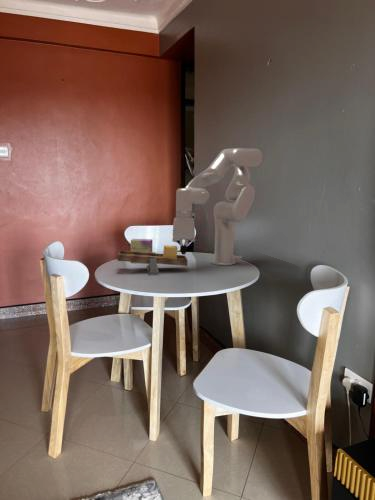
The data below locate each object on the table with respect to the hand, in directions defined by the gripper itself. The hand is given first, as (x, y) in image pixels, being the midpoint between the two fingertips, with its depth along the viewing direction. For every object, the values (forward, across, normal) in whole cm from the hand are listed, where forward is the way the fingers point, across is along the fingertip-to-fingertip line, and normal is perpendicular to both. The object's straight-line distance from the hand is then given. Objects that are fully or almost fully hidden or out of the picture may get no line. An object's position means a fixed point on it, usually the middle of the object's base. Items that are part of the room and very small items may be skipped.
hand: (183, 253), depth 179 cm
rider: (+2, +7, 0) cm, 7 cm away
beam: (+3, +15, 0) cm, 15 cm away
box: (+8, +19, -19) cm, 28 cm away
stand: (+8, +14, 0) cm, 17 cm away
